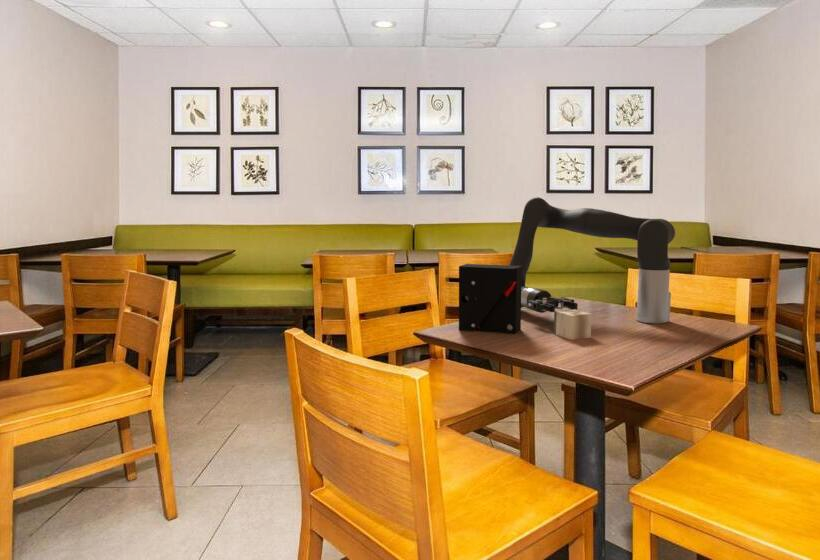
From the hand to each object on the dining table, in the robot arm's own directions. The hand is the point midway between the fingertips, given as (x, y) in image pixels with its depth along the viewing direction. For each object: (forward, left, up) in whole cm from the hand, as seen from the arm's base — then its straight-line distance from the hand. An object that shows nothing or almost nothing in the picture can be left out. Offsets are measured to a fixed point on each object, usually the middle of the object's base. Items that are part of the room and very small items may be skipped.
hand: (565, 307), depth 172 cm
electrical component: (+22, -7, -7) cm, 24 cm away
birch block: (+4, +5, -3) cm, 7 cm away
